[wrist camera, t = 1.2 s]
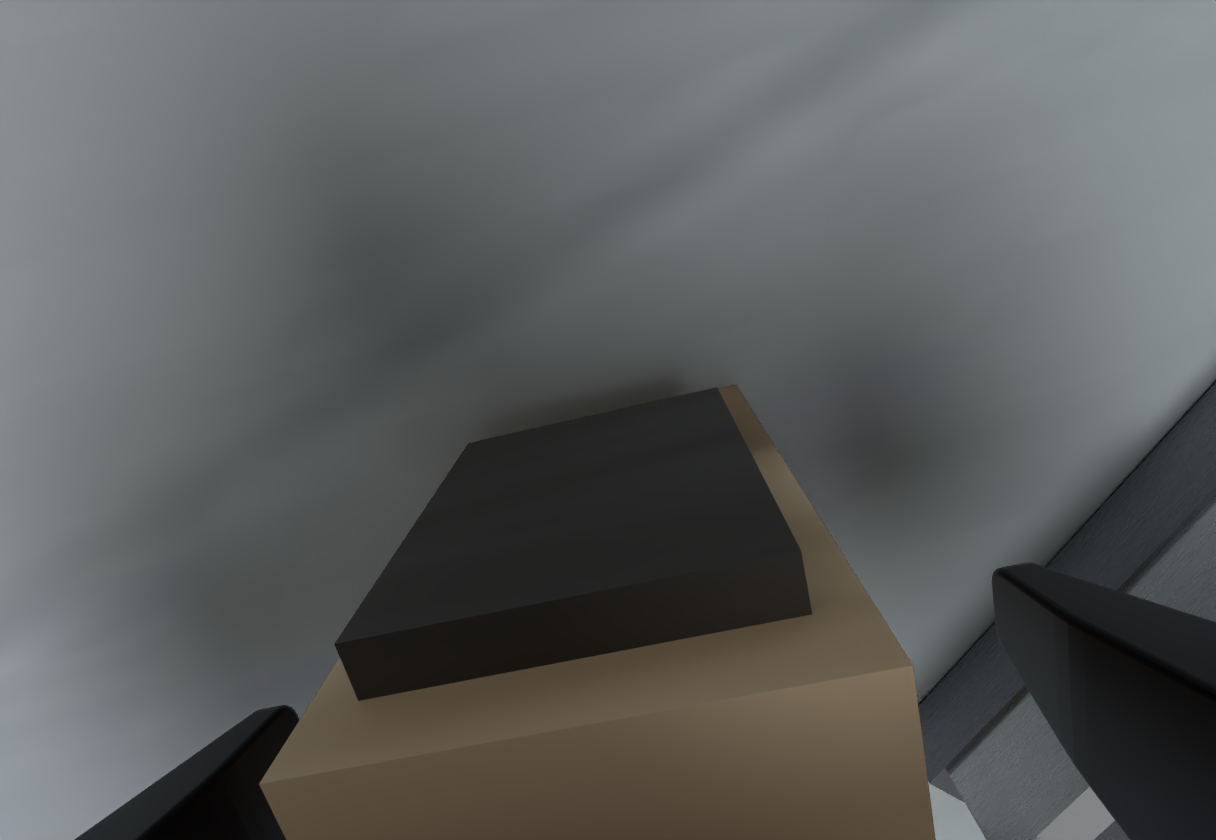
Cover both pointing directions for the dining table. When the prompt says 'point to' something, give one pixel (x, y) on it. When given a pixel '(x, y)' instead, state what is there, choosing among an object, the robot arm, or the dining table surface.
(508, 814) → the block
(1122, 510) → the rail
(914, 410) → the dining table surface
